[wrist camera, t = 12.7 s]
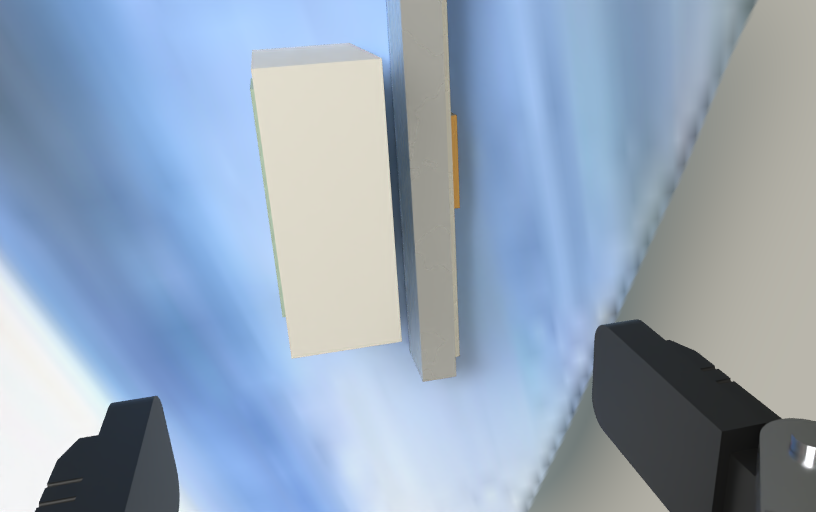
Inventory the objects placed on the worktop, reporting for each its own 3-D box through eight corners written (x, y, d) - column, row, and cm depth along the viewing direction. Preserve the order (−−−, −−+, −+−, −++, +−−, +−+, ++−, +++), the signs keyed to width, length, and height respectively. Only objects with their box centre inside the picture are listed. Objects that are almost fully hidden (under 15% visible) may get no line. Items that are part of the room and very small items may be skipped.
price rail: (451, 344, 34) (468, 374, 32) (409, 350, 34) (423, 381, 31) (433, -96, 27) (453, -106, 24) (379, -93, 27) (393, -104, 24)
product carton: (352, 42, 28) (386, 57, 21) (371, 262, 32) (405, 340, 25) (248, 50, 28) (245, 69, 20) (279, 274, 31) (287, 359, 24)
